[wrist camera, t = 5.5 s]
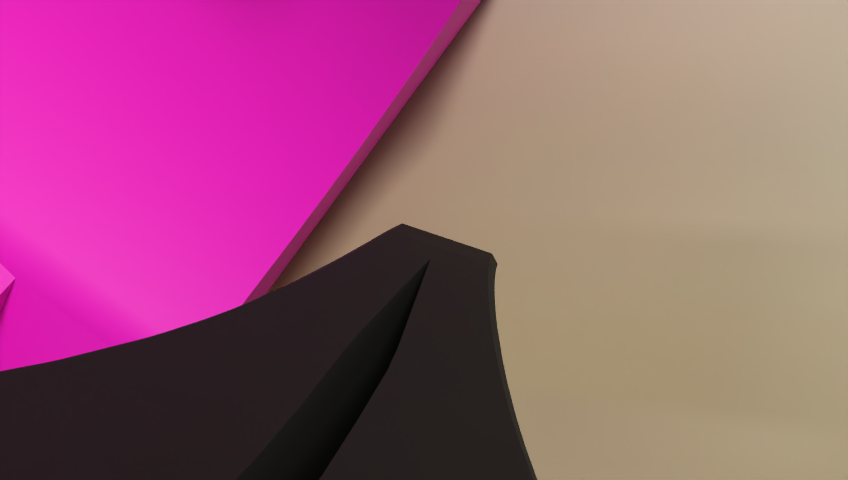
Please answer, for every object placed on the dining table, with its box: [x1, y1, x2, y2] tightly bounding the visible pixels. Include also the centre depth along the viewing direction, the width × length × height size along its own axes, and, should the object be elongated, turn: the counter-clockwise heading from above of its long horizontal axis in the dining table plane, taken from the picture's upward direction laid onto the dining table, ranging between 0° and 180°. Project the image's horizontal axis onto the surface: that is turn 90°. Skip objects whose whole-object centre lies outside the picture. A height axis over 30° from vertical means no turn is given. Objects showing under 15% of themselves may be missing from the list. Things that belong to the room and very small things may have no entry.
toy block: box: [0, 0, 481, 371], centre depth 8 cm, size 15×6×8 cm, turn 145°
